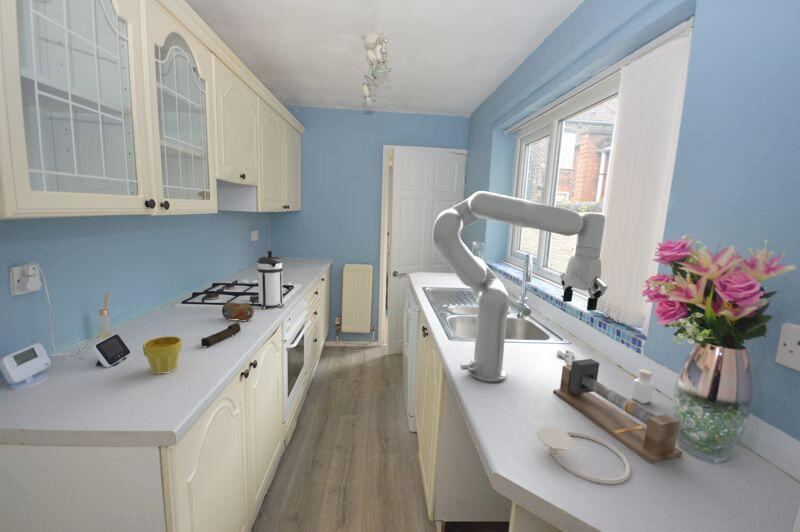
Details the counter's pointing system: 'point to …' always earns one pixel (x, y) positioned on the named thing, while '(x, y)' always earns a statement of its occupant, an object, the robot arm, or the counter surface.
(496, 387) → the counter surface
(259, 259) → the coffee press
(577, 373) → the collar
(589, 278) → the robot arm
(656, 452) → the pipe stand
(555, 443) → the hand towel holder
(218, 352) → the counter surface
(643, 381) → the salt shaker
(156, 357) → the plant pot
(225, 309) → the tin
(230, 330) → the hand tool
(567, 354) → the adjustable wrench
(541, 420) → the counter surface
